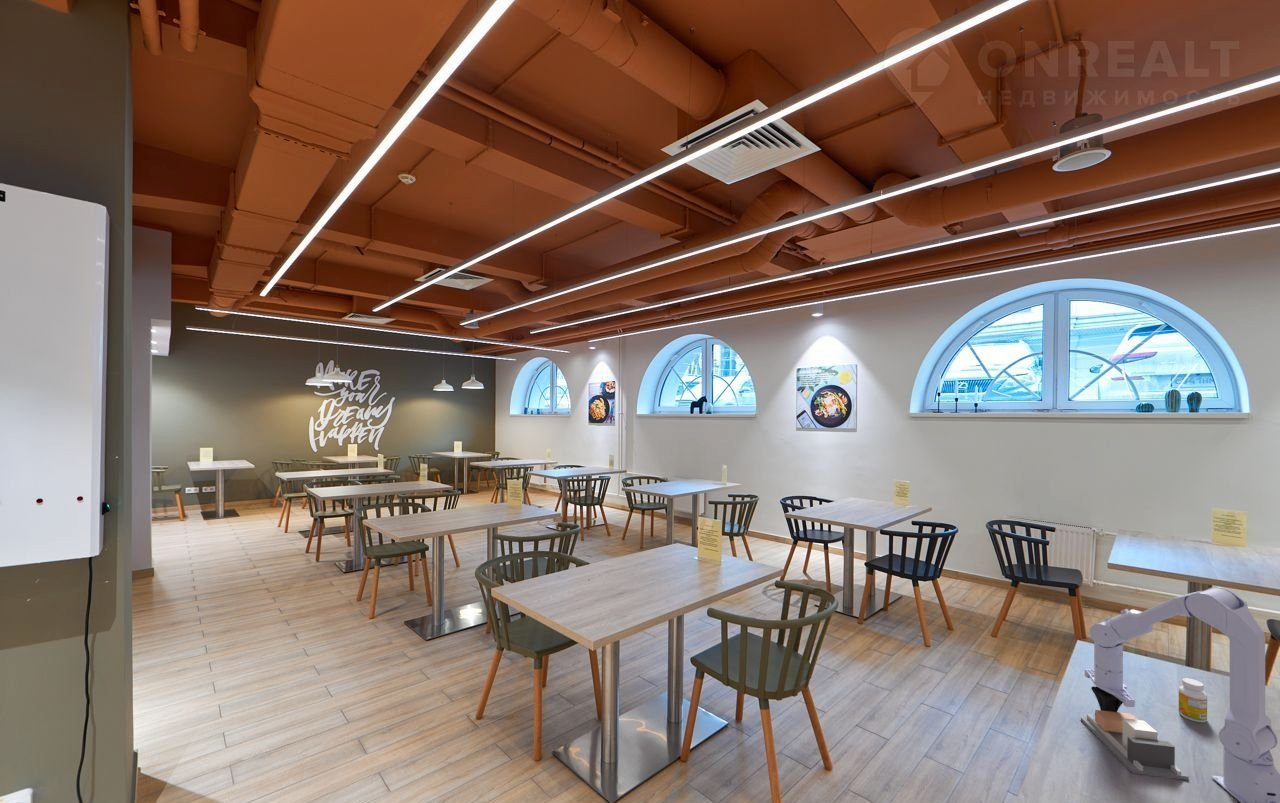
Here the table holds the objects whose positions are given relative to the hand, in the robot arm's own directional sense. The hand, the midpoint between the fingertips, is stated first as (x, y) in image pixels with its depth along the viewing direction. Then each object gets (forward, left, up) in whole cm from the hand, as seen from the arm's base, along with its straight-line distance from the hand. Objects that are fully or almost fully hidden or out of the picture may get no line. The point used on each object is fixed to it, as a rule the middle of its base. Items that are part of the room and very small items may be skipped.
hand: (1108, 717), depth 139 cm
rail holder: (-8, 0, -2) cm, 9 cm away
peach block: (-4, 0, 0) cm, 4 cm away
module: (-12, 0, -2) cm, 12 cm away
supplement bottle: (+10, -25, -3) cm, 27 cm away
